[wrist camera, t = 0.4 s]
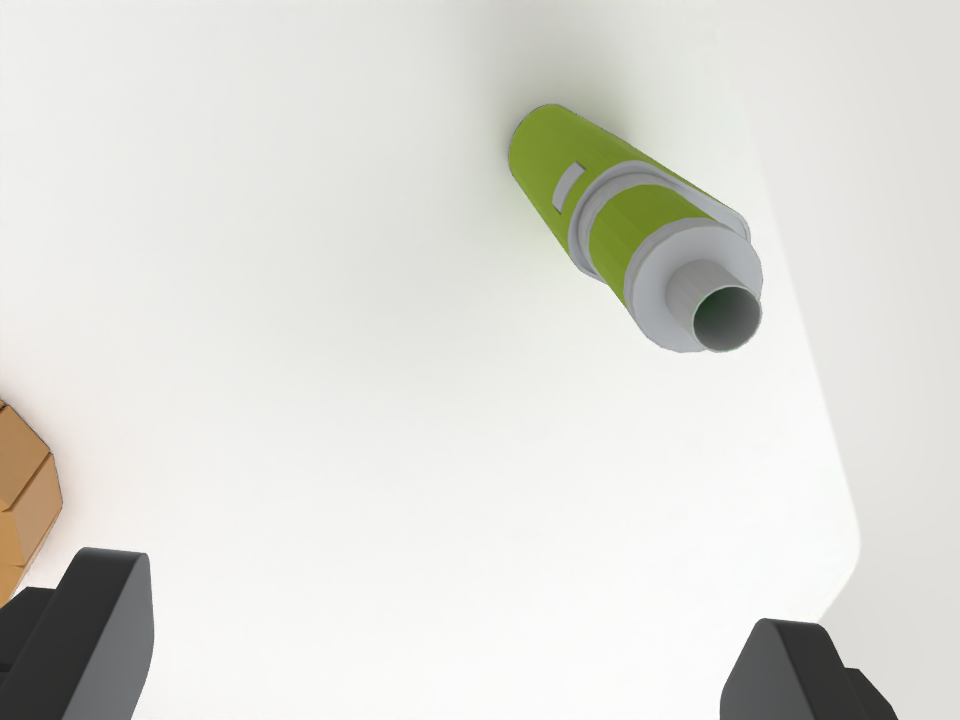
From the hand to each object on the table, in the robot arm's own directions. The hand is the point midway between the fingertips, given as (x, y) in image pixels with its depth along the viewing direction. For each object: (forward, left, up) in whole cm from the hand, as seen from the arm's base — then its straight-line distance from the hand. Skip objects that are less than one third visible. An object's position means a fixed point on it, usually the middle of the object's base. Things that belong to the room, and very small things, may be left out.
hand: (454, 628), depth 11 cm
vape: (-1, +7, -28) cm, 29 cm away
